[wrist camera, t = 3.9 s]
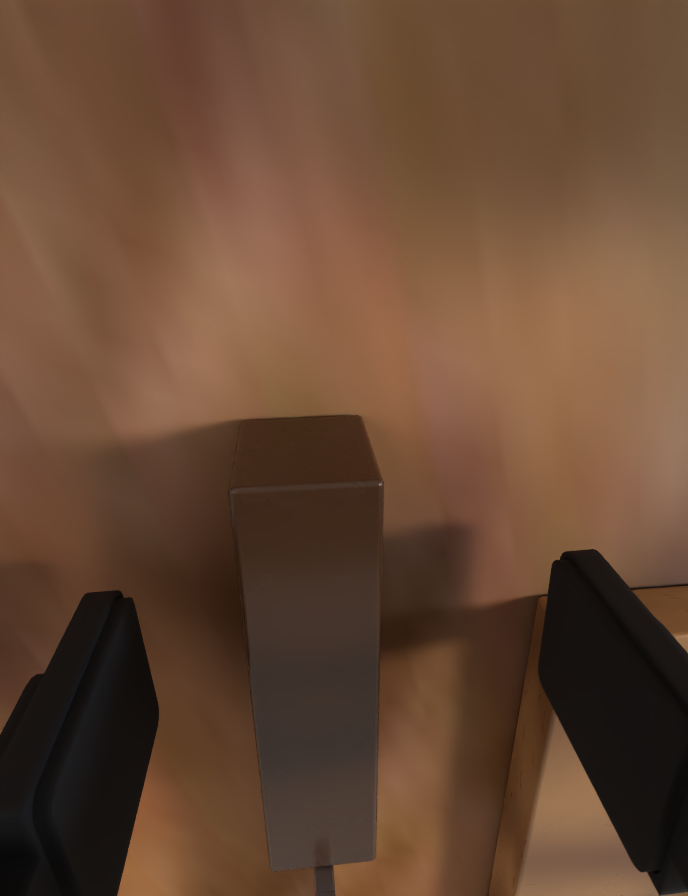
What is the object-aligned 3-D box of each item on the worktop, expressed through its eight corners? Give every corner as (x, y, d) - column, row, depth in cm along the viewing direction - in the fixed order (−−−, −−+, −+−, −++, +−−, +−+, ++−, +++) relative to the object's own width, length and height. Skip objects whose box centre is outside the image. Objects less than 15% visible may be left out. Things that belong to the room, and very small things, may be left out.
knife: (239, 418, 10) (223, 512, 7) (362, 412, 10) (392, 502, 8) (292, 969, 18) (293, 1117, 15) (360, 960, 18) (374, 1105, 16)
